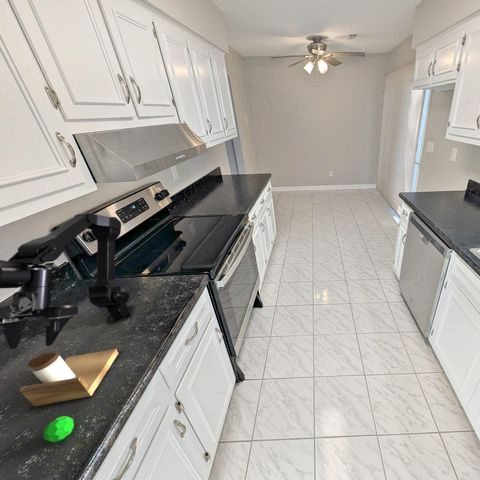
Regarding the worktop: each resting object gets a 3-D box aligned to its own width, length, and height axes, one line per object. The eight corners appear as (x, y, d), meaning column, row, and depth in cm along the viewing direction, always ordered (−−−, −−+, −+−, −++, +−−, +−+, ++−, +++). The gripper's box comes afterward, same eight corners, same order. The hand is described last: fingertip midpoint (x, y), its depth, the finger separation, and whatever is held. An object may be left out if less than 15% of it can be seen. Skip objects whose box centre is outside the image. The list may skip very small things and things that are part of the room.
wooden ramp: (71, 361, 80) (59, 345, 77) (118, 353, 82) (108, 337, 78) (34, 406, 68) (17, 390, 64) (91, 396, 69) (77, 379, 66)
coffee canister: (52, 379, 72) (32, 355, 68) (78, 369, 75) (59, 346, 70) (45, 396, 68) (22, 372, 63) (72, 385, 70) (52, 361, 66)
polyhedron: (62, 424, 63) (51, 413, 61) (82, 421, 63) (73, 410, 61) (44, 448, 59) (32, 437, 57) (67, 445, 59) (55, 434, 57)
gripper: (-40, 291, 61) (-49, 360, 59) (38, 285, 61) (33, 353, 59) (14, 289, 72) (9, 347, 70) (81, 284, 72) (78, 341, 70)
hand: (31, 347), depth 67 cm, fingers open, 9 cm apart
